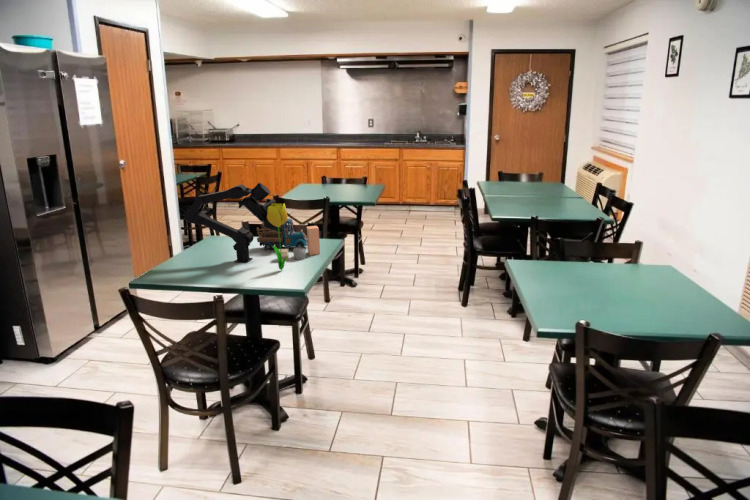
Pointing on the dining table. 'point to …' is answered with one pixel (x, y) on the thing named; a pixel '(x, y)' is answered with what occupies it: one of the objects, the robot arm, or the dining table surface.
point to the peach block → (313, 240)
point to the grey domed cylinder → (299, 253)
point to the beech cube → (284, 254)
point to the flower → (277, 225)
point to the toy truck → (281, 237)
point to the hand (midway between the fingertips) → (279, 229)
